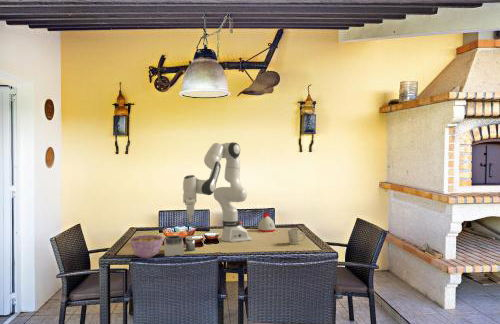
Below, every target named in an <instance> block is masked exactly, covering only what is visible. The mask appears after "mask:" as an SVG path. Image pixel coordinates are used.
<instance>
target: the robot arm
mask: <svg viewBox="0 0 500 324" xmlns="http://www.w3.org/2000/svg"><path fill="white" fill-rule="evenodd" d="M240 154H241V146H240V145H239V144H238V142H234V141H233V142H224V143H220V142H215V143H212V144H211V146H210V147H209V149H208V150H207V152H206V153H205V154H204V155H205V156H204V158H203V161H204V162H203V164H205V167H207V168H209V169H210V170H211V172H210V174H209V177H208V178H207V179H199V178H197V177H196V176H195V175H194V174H189V175H186V176H184V177H183V182H182V191H183V194H182V202H183V204H184V205H185V206H186V207H185V208H186V213H187V219H188V222H189V223H191V222H193V216H194V214H195V204H196V203H197V194H199V195H206V196H211V195H213V198H214V200H216V201H217V202H218V204H219V205H220V208H221V210H222V222H221V225H222V231H221V232H222V233H221V238H220V240H221V241H224V242H231V243H236V242H245V241H246V242H247V241H251V240H252V237H251V236H250V235H249V233H248V230H247V229H246V228H244V227H243V226H242V224H243V222H242V221H241V220H239V219H238V218H239V215H238V213H239V212H238V209H237V208H236V207H235V206H234V205H232V203H242V202H245V201H246V199H247V197H248V193H247V190H246V189H245V188H244V187H243V186H242V184H241V180H240V174H241V159H240ZM222 159H225V161H226V162H225V167H224V180H225V181H226V182H227V183H229V184H230V186H219V187H216V185H217V182H218V179H219V175H220V171H221V168H222V166H221V160H222Z"/></svg>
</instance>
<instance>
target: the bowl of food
mask: <svg viewBox="0 0 500 324" xmlns="http://www.w3.org/2000/svg"><path fill="white" fill-rule="evenodd" d="M163 238H164V237H163V236H161V235H157V234H156V235H154V234H150V235H149V234H145V235H144V234H143V235H137V236H134V237H132V238H130V245H131V248H132V252H133V254H134V255H135V256H136V257H139V258H141V259H151V258H154V256H156V255H158V254H159V253H160V251H161V247H162V243H163Z"/></svg>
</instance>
